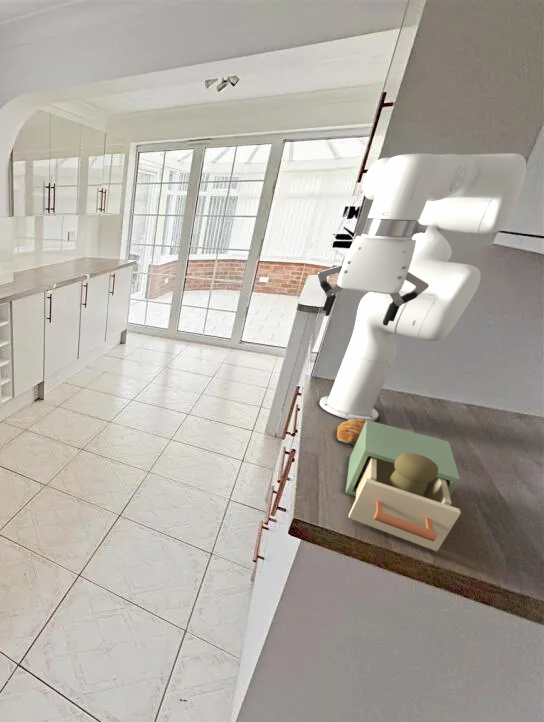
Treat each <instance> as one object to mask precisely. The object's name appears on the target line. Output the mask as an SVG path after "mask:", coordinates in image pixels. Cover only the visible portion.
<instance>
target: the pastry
mask: <svg viewBox="0 0 544 722" xmlns="http://www.w3.org/2000/svg"><path fill="white" fill-rule="evenodd" d="M365 422H366V421H365V420H362V419H351V420H349V419H347V420H346V421H343V422H341V423H340V424H339V425H338V426H337V428H336V439H337V440H338V441H340V442H343V443H345V444H347V445H348V444H349V445H351V446H354V447H355V445H356V443H357V440H358V438H359V436H360V433H361V431H362V429H363V427H364V424H365Z"/></svg>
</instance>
